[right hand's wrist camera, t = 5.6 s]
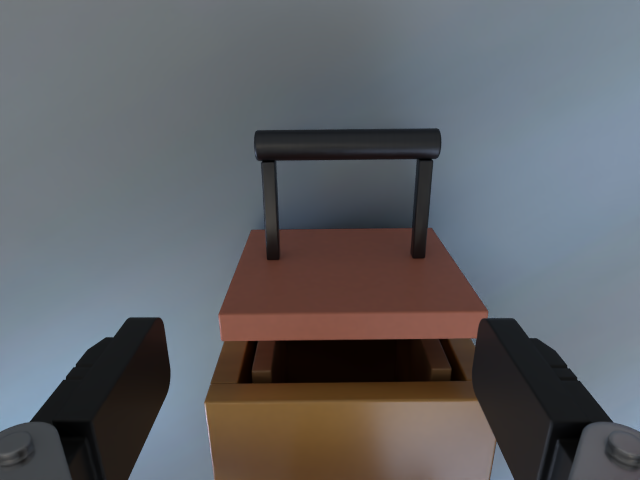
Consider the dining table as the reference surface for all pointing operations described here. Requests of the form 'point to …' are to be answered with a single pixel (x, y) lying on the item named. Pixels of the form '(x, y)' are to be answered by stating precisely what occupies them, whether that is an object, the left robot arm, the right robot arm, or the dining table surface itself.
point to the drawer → (348, 278)
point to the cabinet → (347, 425)
